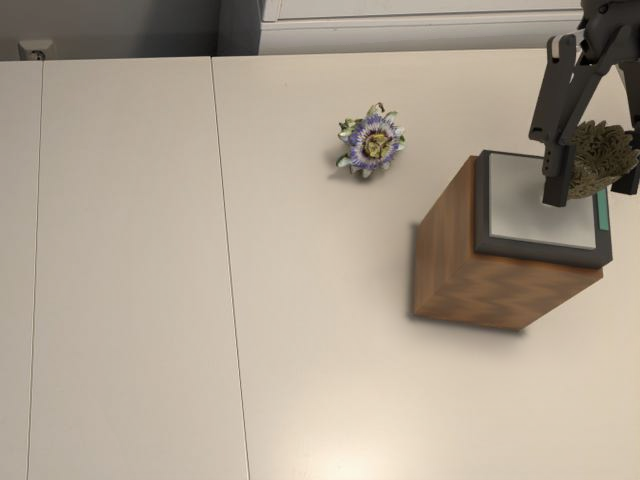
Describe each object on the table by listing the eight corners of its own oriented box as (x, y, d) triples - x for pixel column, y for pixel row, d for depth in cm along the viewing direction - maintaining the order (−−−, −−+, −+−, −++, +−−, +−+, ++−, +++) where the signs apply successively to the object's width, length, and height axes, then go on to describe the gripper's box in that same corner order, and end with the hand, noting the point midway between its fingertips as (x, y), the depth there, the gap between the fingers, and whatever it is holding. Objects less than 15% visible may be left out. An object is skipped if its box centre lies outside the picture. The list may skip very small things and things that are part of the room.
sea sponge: (516, 169, 68) (557, 122, 61) (575, 162, 68) (624, 114, 61) (535, 221, 66) (581, 179, 58) (597, 214, 66) (651, 171, 58)
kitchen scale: (592, 175, 73) (608, 160, 70) (598, 269, 68) (617, 258, 66) (474, 161, 74) (485, 146, 71) (473, 252, 70) (485, 240, 67)
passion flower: (355, 192, 100) (338, 178, 90) (334, 139, 102) (315, 119, 92) (419, 160, 94) (409, 141, 84) (395, 104, 96) (383, 78, 86)
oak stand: (517, 240, 90) (595, 169, 73) (519, 331, 85) (603, 277, 68) (416, 227, 92) (470, 154, 74) (412, 315, 87) (469, 259, 70)
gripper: (701, -55, 56) (646, 179, 66) (506, -22, 56) (480, 207, 66) (783, -74, 49) (707, 189, 59) (561, -37, 49) (523, 220, 59)
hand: (588, 198), depth 63 cm, fingers closed on sea sponge, 7 cm apart
